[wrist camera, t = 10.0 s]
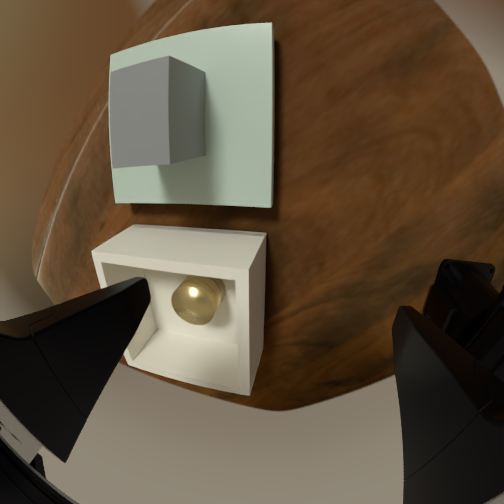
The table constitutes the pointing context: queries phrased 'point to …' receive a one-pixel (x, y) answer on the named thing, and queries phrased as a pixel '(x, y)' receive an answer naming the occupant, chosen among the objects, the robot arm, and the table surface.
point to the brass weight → (198, 298)
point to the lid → (195, 118)
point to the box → (176, 329)
